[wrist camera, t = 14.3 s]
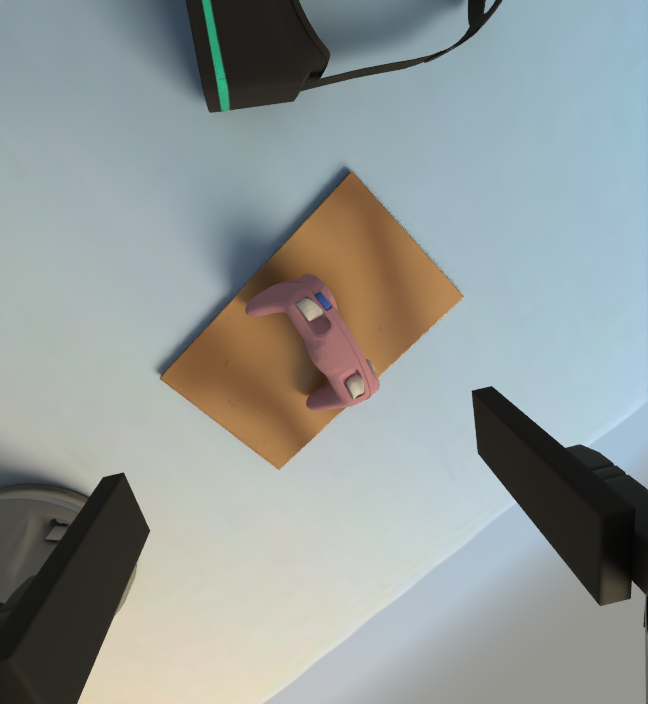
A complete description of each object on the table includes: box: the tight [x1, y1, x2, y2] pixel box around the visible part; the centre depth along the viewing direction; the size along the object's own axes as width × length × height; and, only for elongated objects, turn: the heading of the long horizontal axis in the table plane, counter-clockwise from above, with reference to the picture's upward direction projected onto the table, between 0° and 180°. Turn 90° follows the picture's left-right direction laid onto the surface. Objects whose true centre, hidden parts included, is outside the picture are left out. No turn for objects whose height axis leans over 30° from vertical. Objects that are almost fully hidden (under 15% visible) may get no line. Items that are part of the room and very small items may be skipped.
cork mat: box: [160, 172, 464, 470], centre depth 31 cm, size 20×12×1 cm, turn 135°
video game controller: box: [245, 273, 380, 411], centre depth 28 cm, size 10×5×7 cm, turn 30°
